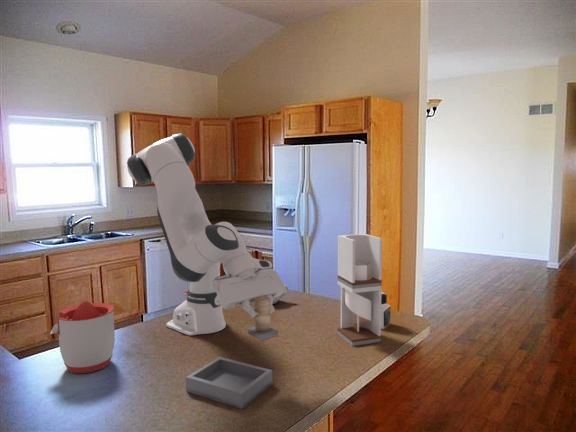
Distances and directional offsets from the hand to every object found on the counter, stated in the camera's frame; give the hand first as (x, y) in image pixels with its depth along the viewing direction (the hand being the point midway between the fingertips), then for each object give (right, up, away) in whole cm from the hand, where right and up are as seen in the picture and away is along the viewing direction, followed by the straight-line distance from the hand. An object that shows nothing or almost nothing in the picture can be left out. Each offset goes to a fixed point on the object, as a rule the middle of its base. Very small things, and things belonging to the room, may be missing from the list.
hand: (263, 314), depth 117 cm
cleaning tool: (0, -6, +1) cm, 6 cm away
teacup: (0, -12, +74) cm, 75 cm away
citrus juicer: (-54, -19, +14) cm, 59 cm away
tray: (-9, -20, 0) cm, 22 cm away
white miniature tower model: (+31, -16, +33) cm, 48 cm away
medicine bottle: (+40, -14, +45) cm, 62 cm away
